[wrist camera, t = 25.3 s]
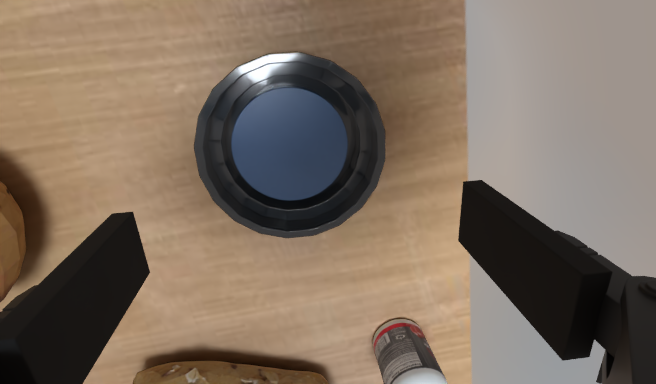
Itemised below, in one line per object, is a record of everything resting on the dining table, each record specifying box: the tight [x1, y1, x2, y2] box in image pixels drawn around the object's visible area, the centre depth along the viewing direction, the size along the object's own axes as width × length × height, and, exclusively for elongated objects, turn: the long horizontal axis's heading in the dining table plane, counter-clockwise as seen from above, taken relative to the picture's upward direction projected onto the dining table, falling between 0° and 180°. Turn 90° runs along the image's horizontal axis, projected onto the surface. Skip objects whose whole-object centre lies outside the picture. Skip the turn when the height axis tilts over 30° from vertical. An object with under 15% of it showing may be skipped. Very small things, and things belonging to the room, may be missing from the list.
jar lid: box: [231, 85, 348, 201], centre depth 29 cm, size 9×9×2 cm
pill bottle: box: [373, 319, 448, 384], centre depth 34 cm, size 5×5×10 cm
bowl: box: [194, 52, 385, 238], centre depth 28 cm, size 13×13×4 cm
